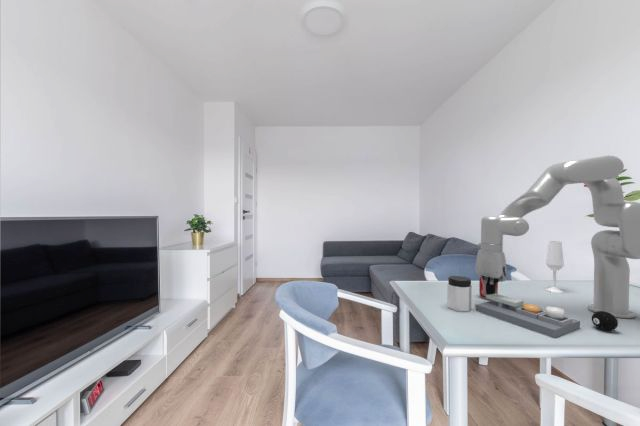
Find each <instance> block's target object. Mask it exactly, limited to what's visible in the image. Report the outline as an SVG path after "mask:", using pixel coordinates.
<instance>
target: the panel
mask: <svg viewBox="0 0 640 426" xmlns="http://www.w3.org/2000/svg"><path fill="white" fill-rule="evenodd" d="M475 311H476V312H477V313H480V314H484V315H486V316H489V317H491V318H494V319H495V318H496V319H498V320H500V321H501V320H502V321H504V322H507V323H511V324H513V325H515V326H518V327H522V328H524V329H527V330H530V331H532V332H536V333H539V334H542V335H545V336H547V337H549V338H552V339H553V338H554V339H555V338H558V337H561V336H563V335H566V334H568V333H571V332H575V331H577V330H579V329H581V321H580V320H578V319H574V318H571V317H567V316H564V318H563V319H558V318H552V317H549V316H547V315H546V310H542V309H540V313H537V314H534V313H531V312H528V311H524V304H523V305H520V306H516V307H515V306H511V305H508V304H504V303H501V302H497V301H493V300H489V301H485V302H484V301H483V302H481V303H476V304H475Z"/></svg>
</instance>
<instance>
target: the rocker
mask: <svg viewBox="0 0 640 426" xmlns="http://www.w3.org/2000/svg"><path fill="white" fill-rule="evenodd" d="M488 299H490V300H489V301H497V302H501V303H504V304H508V305H511V306H515V307H516V306H520V305H524V300H523V299H522V300H521V299H517V298H513V297H510V296H506V295H502V294H499V293H498V294H496V293H495V294H488V295H486V299H485V300H488Z"/></svg>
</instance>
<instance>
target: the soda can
mask: <svg viewBox="0 0 640 426" xmlns="http://www.w3.org/2000/svg"><path fill="white" fill-rule="evenodd" d="M478 280H479V282H478V283H479V284H478V285H479V289H478V290H479V296H480V297H481V298H482V299H485V300H489V301H491V300H490V299H486V295H488V294H487V293H486V283H485V282H484V280H483V278H481V277H479V279H478ZM498 284H499V282H498V283H497V284H496V289H495V293H496V294H499V293H498V292H499V289H498V288H499V287H498Z"/></svg>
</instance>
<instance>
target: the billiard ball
mask: <svg viewBox="0 0 640 426" xmlns="http://www.w3.org/2000/svg"><path fill="white" fill-rule="evenodd" d="M618 321H619V320H618V319H617V317H615V316H614V315H612V314H611V313H608V312H605V311H598V312H593V314H592V315H591V322H592V324H593V325H594V326H595V327H596V328H598V329H599V330H602V331H606V332H611V331H614V330H616V329H617V327H618V325H619V322H618Z"/></svg>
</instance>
